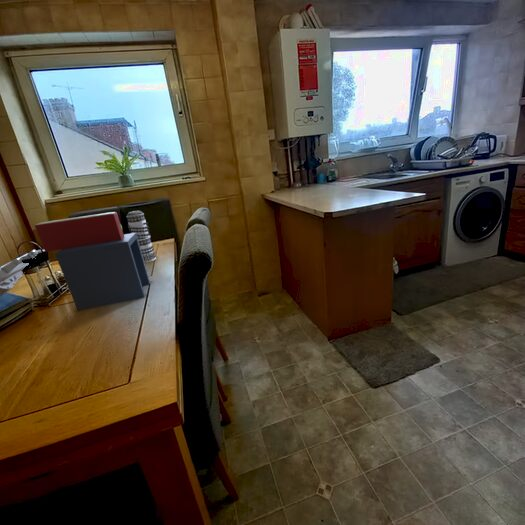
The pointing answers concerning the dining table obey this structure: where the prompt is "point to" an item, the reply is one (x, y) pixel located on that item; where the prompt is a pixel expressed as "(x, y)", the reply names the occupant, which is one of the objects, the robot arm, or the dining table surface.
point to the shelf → (104, 272)
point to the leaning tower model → (141, 234)
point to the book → (79, 231)
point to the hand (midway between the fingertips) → (27, 255)
